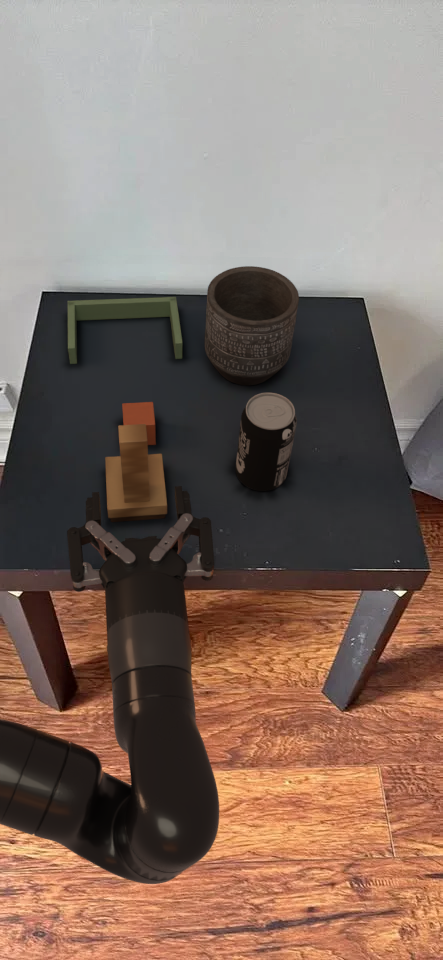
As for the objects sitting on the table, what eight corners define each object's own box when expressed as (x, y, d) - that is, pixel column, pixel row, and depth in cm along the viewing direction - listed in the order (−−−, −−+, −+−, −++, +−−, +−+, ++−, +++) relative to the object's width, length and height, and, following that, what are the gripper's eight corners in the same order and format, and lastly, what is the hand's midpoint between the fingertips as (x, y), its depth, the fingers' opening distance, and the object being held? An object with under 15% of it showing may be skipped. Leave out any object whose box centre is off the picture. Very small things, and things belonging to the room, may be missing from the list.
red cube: (125, 446, 98) (123, 426, 94) (123, 424, 100) (122, 403, 97) (155, 444, 98) (155, 424, 95) (153, 422, 100) (153, 401, 97)
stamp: (109, 524, 90) (100, 449, 79) (106, 472, 95) (98, 394, 84) (167, 519, 91) (166, 445, 80) (162, 468, 96) (161, 391, 85)
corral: (70, 364, 106) (67, 348, 104) (69, 316, 113) (67, 300, 110) (182, 358, 108) (182, 343, 106) (175, 312, 115) (175, 296, 112)
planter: (303, 379, 107) (317, 308, 97) (229, 406, 103) (236, 335, 93) (260, 327, 113) (268, 256, 103) (188, 351, 109) (190, 279, 99)
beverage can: (228, 460, 97) (234, 395, 88) (275, 450, 99) (286, 385, 89) (244, 499, 93) (253, 436, 84) (293, 488, 95) (307, 424, 85)
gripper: (227, 608, 66) (206, 466, 76) (64, 623, 65) (64, 476, 74) (223, 645, 72) (203, 509, 82) (73, 660, 71) (71, 519, 80)
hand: (137, 493), depth 78 cm, fingers open, 8 cm apart
